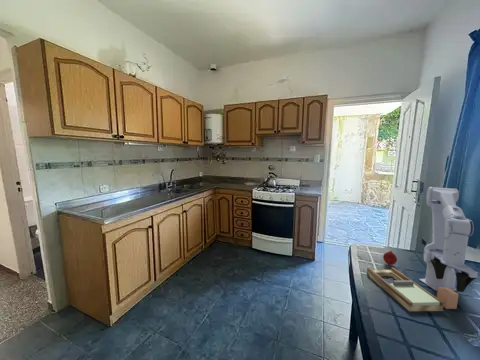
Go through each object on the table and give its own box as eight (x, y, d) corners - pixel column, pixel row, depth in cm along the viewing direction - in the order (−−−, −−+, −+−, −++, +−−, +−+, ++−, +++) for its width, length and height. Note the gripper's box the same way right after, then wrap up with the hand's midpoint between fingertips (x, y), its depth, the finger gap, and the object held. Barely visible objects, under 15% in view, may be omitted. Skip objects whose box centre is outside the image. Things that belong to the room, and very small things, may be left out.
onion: (398, 268, 106) (400, 253, 105) (385, 267, 107) (387, 252, 106) (392, 262, 112) (394, 248, 111) (380, 261, 113) (382, 247, 112)
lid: (413, 286, 88) (414, 280, 88) (439, 305, 77) (440, 298, 77) (389, 286, 88) (390, 280, 87) (412, 305, 77) (413, 298, 77)
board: (392, 273, 101) (393, 267, 101) (442, 310, 77) (444, 302, 77) (366, 273, 101) (367, 267, 100) (408, 311, 77) (410, 303, 76)
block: (445, 301, 83) (447, 287, 82) (456, 308, 79) (458, 294, 78) (435, 301, 83) (438, 287, 82) (446, 308, 79) (448, 294, 78)
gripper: (426, 242, 85) (421, 273, 87) (466, 260, 71) (460, 297, 72) (442, 242, 85) (438, 273, 87) (486, 260, 71) (479, 297, 73)
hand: (449, 284), depth 80 cm, fingers open, 7 cm apart
